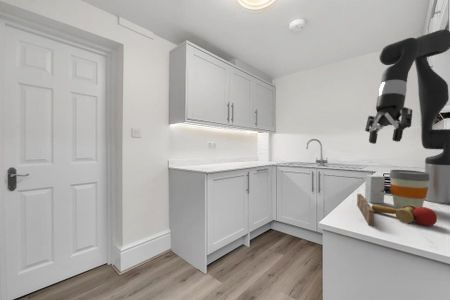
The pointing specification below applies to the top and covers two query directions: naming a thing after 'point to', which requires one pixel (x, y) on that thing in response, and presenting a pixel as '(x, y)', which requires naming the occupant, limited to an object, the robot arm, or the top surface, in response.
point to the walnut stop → (365, 209)
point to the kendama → (410, 214)
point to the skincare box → (374, 189)
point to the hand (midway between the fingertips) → (383, 142)
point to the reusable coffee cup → (408, 187)
